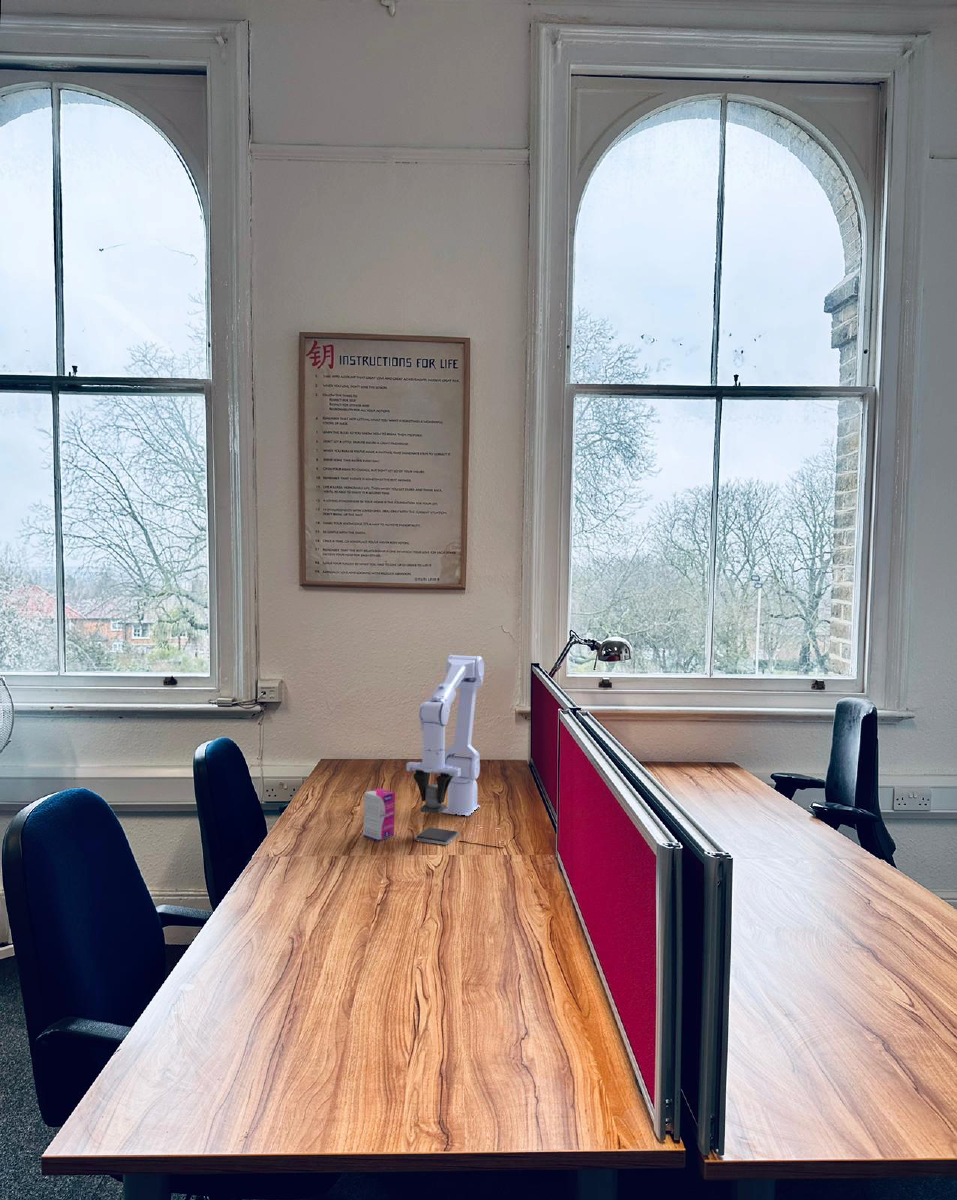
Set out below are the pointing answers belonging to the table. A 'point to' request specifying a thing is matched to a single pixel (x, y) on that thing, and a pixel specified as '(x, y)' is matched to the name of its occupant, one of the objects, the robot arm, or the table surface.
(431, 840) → the ink pad
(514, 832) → the table surface
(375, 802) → the supplement box
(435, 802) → the stamp
